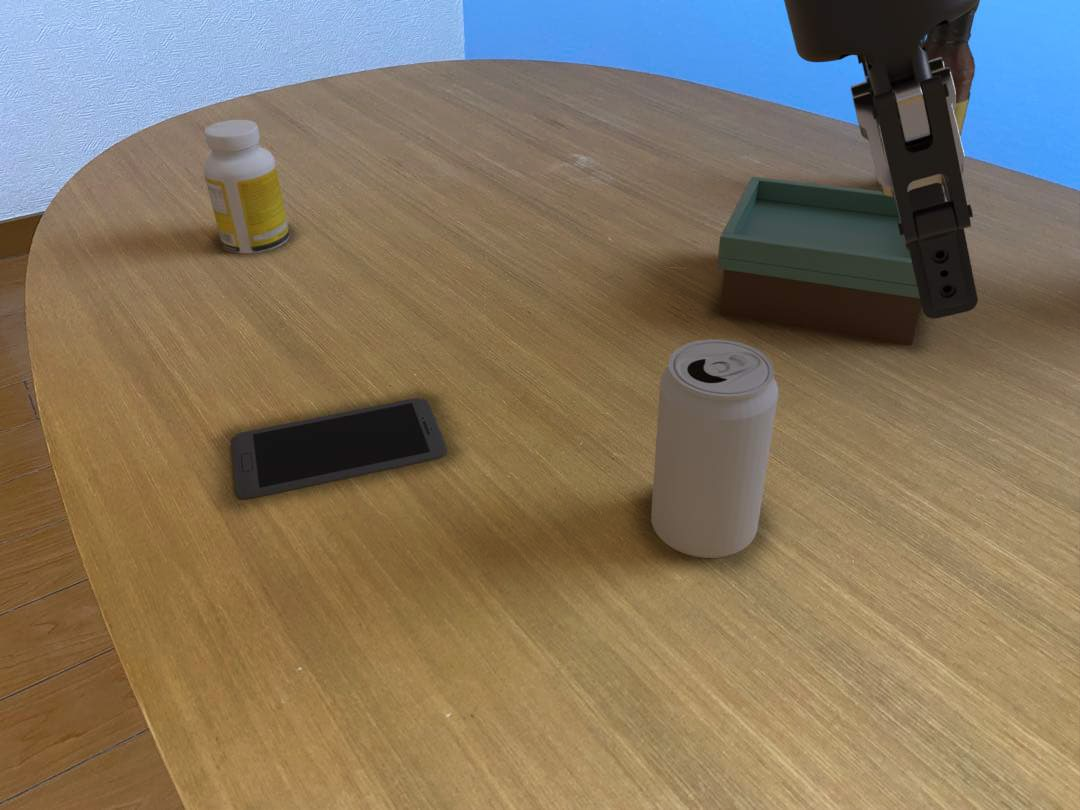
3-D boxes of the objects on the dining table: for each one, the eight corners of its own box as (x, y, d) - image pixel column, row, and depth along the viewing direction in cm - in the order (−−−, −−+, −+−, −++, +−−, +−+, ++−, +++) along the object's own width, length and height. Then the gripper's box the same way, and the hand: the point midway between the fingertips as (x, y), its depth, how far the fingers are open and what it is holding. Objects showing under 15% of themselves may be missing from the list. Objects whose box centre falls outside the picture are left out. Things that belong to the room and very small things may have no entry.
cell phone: (231, 442, 65) (229, 433, 65) (427, 403, 69) (426, 395, 68) (237, 509, 60) (235, 500, 59) (451, 463, 63) (450, 454, 62)
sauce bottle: (895, 175, 102) (935, -22, 90) (954, 188, 99) (1004, -15, 87) (874, 196, 98) (913, -8, 86) (935, 209, 95) (984, -1, 83)
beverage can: (631, 512, 59) (639, 349, 52) (720, 484, 61) (738, 324, 54) (684, 580, 54) (700, 411, 47) (778, 547, 56) (806, 380, 49)
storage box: (925, 282, 82) (945, 198, 78) (916, 357, 72) (938, 266, 68) (742, 256, 87) (751, 175, 83) (711, 323, 77) (719, 236, 73)
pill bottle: (303, 236, 93) (282, 120, 86) (264, 264, 88) (238, 143, 81) (249, 227, 95) (224, 113, 88) (208, 254, 90) (178, 135, 83)
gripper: (992, -120, 31) (1062, 317, 37) (940, -123, 43) (999, 208, 49) (765, -33, 34) (865, 360, 40) (776, -59, 46) (852, 247, 52)
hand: (939, 276), depth 44 cm, fingers open, 8 cm apart
